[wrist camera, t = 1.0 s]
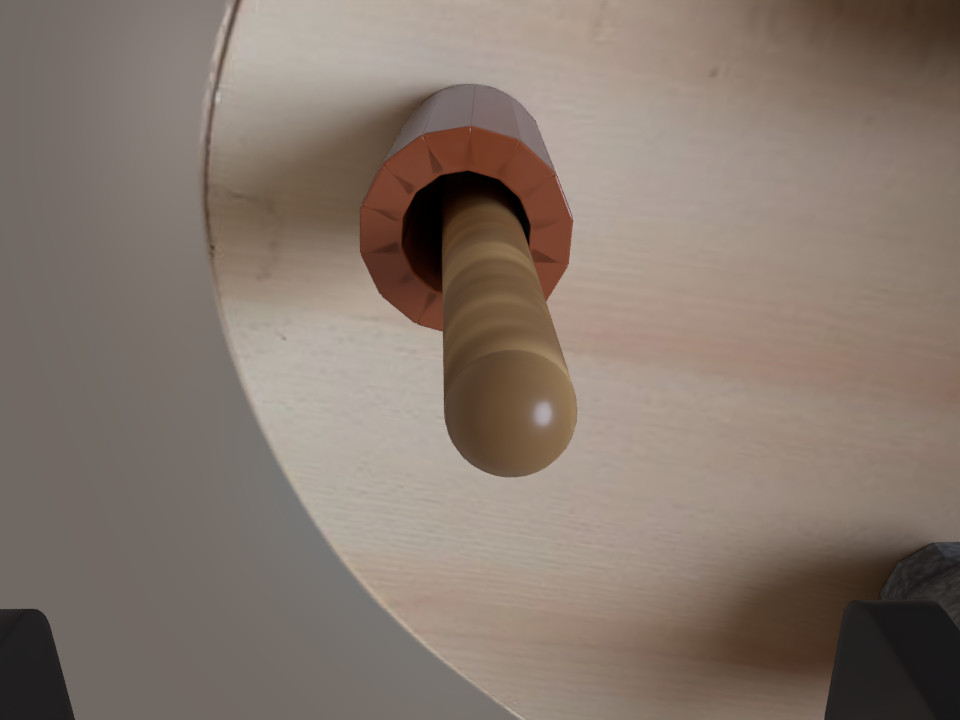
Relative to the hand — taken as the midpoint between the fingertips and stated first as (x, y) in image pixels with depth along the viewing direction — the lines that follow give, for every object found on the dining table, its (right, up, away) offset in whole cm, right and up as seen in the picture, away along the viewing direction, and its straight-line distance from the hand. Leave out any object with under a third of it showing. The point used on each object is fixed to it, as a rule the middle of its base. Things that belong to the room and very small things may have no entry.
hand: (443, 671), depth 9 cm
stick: (0, +11, +26) cm, 28 cm away
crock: (0, +11, +27) cm, 29 cm away
